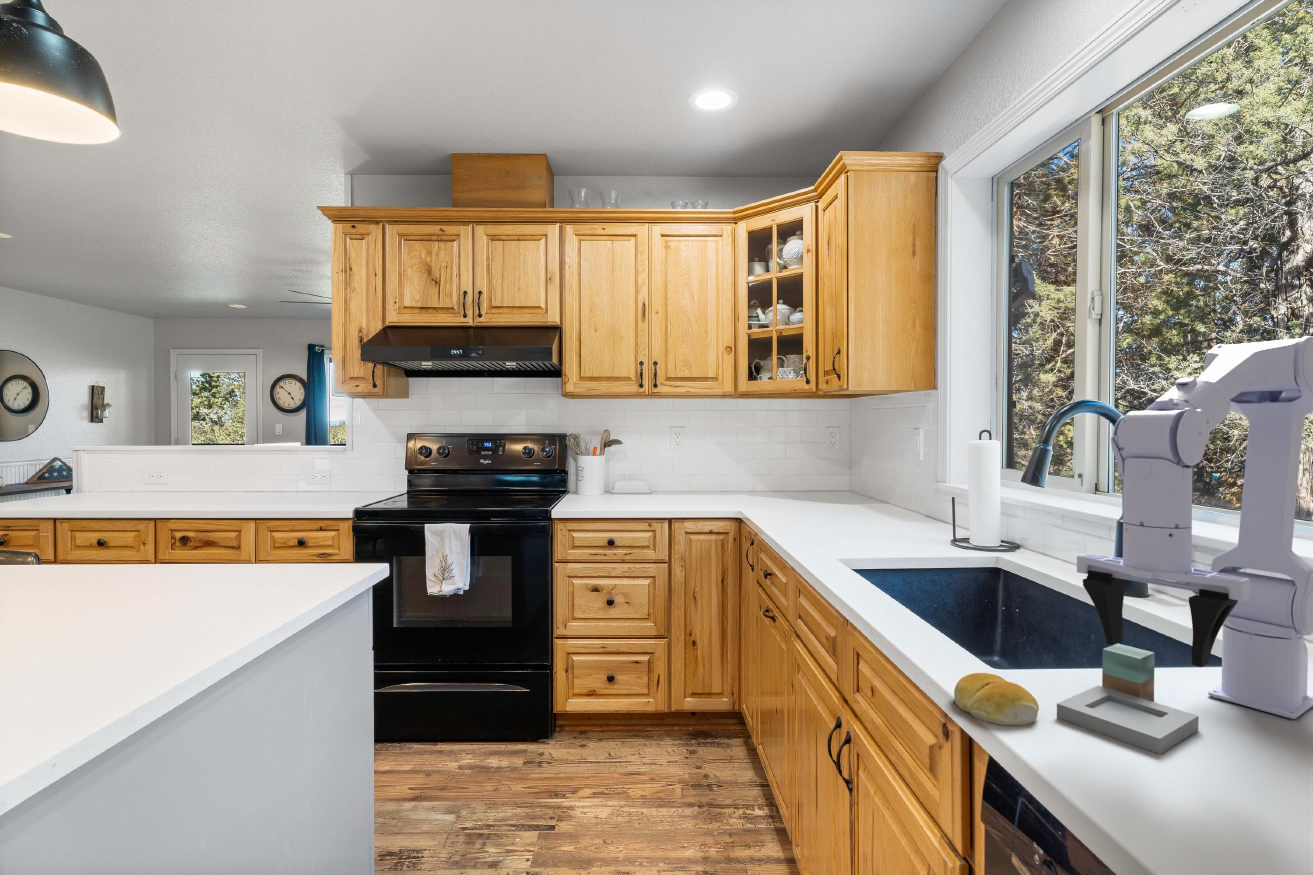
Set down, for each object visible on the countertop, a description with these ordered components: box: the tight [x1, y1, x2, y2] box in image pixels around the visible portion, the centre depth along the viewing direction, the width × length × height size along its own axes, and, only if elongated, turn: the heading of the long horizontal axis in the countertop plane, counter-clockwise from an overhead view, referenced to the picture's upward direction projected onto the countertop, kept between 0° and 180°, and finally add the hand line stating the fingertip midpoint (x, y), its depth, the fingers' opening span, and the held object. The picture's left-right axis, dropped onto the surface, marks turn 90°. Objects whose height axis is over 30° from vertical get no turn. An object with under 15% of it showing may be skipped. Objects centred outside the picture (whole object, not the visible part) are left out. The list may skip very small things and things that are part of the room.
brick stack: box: [1101, 643, 1156, 702], centre depth 80 cm, size 4×4×6 cm
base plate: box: [1056, 685, 1200, 755], centre depth 73 cm, size 10×10×2 cm
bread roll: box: [953, 672, 1040, 727], centre depth 77 cm, size 8×9×4 cm
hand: (1155, 652), depth 68 cm, fingers open, 7 cm apart
